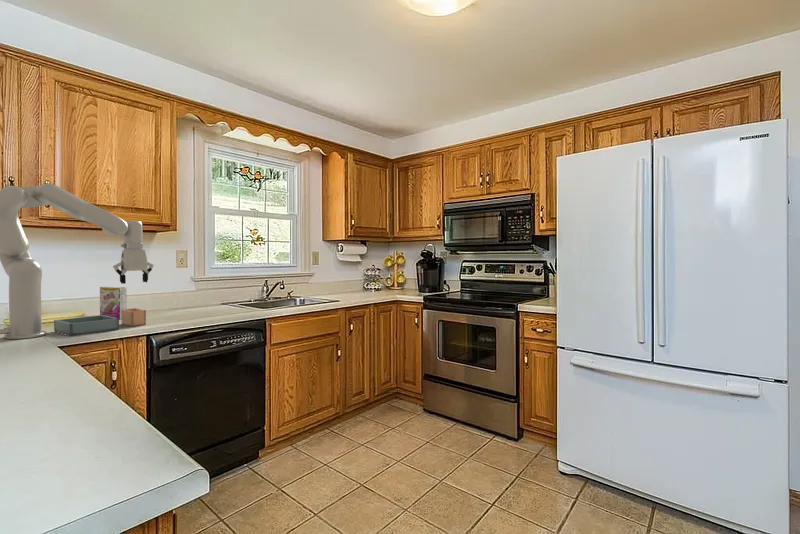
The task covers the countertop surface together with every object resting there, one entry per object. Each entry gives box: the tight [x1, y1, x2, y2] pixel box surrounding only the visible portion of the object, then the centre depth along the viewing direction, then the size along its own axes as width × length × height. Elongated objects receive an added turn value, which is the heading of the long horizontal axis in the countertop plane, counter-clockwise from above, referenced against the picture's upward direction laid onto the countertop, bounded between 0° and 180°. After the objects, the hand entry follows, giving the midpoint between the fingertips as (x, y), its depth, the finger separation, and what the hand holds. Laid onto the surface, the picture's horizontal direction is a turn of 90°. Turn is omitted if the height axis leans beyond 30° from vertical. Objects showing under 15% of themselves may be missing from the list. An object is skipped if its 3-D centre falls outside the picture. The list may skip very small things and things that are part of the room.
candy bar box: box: [99, 285, 127, 321], centre depth 209 cm, size 11×5×16 cm, turn 84°
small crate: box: [121, 307, 147, 327], centre depth 195 cm, size 6×10×7 cm, turn 58°
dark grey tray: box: [53, 314, 120, 337], centre depth 178 cm, size 18×16×5 cm
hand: (134, 282), depth 194 cm, fingers open, 9 cm apart
